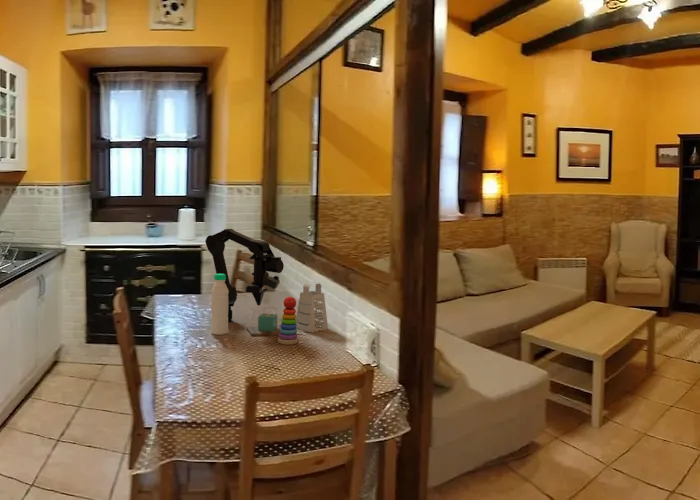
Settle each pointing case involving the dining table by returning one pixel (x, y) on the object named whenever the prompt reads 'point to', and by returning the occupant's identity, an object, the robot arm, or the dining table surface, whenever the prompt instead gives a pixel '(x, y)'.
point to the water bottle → (219, 306)
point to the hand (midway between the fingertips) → (258, 305)
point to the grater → (311, 309)
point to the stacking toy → (288, 323)
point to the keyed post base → (255, 332)
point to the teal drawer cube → (267, 322)
